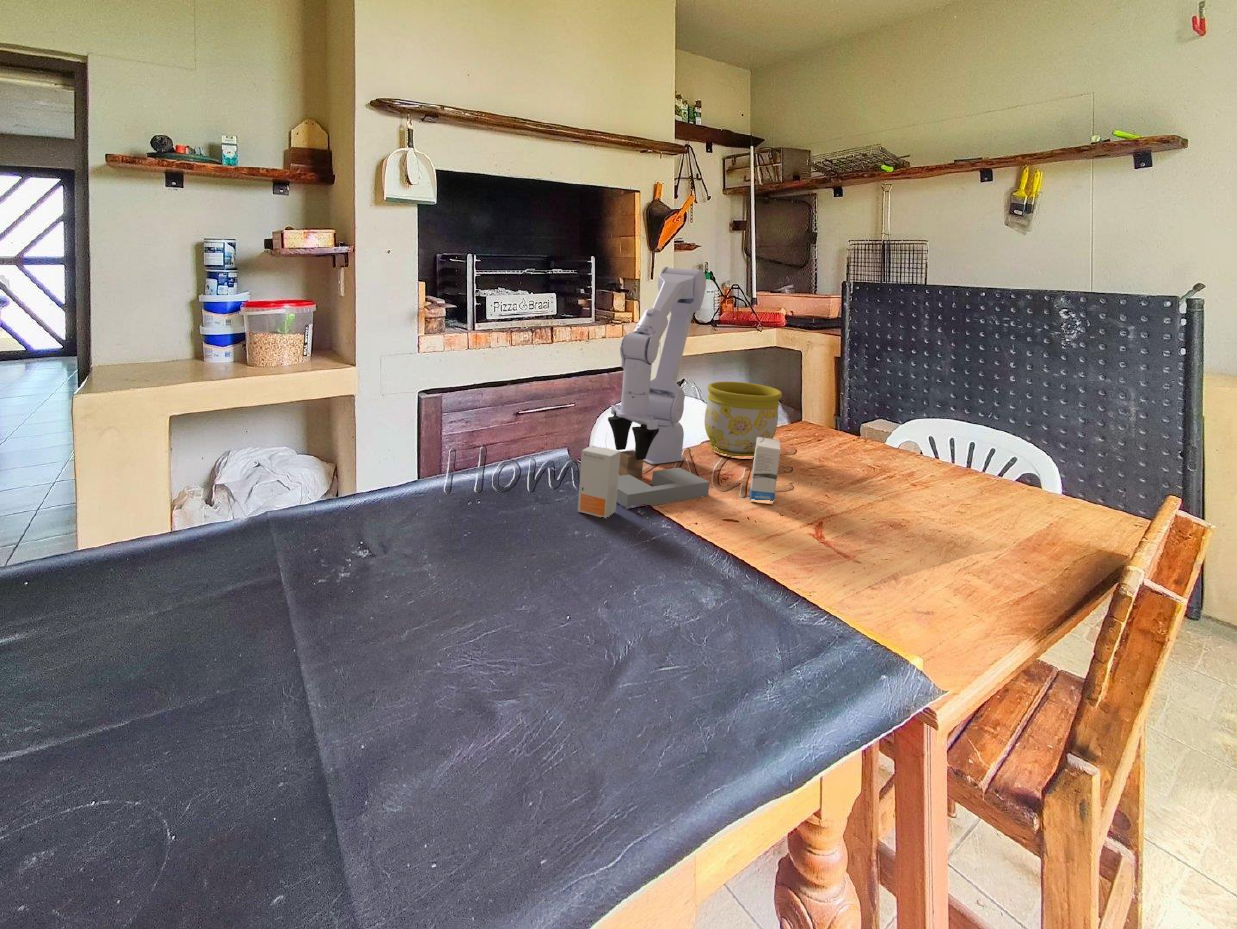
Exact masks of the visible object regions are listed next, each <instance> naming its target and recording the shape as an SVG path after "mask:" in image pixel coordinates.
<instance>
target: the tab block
mask: <svg viewBox="0 0 1237 929" xmlns="http://www.w3.org/2000/svg"><path fill="white" fill-rule="evenodd" d="M620 452H621V454H620V465H619V476H621V475H628V474H629V475H631V476H633V477H635V478H637V479H638V478H639V479H640V478H642V477H643V466H644V461H643V460H637V459H636V457H635V449H631V450H624V451H623V450H621V451H620Z"/></svg>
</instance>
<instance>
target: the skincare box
mask: <svg viewBox="0 0 1237 929" xmlns="http://www.w3.org/2000/svg"><path fill="white" fill-rule="evenodd" d="M621 452H622V451H621V450H616V449H612V448H611V449H610V448H607V447H601V446H597V445H590V446H587V447H586V448H584V449H582V450H581V456H580V457H581V459H580V460H581V461H580V471H579V473H580V474H579V486H578V501H577V502H578V503H577V512H578V513H583V514H587V515H589V516H590V515H591V516H594V517H597V518H601V517H604V518H606V517H608V518H609V517H611V516H612V515H613V514H612V513H614V512H615V513H616V512H617V511H616V510H617V503H616V500H617V488H618V476H619V465H620V454H621ZM615 513H614V514H615ZM611 514H612V515H611ZM610 515H611V516H610ZM604 518H603V519H604Z"/></svg>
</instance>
